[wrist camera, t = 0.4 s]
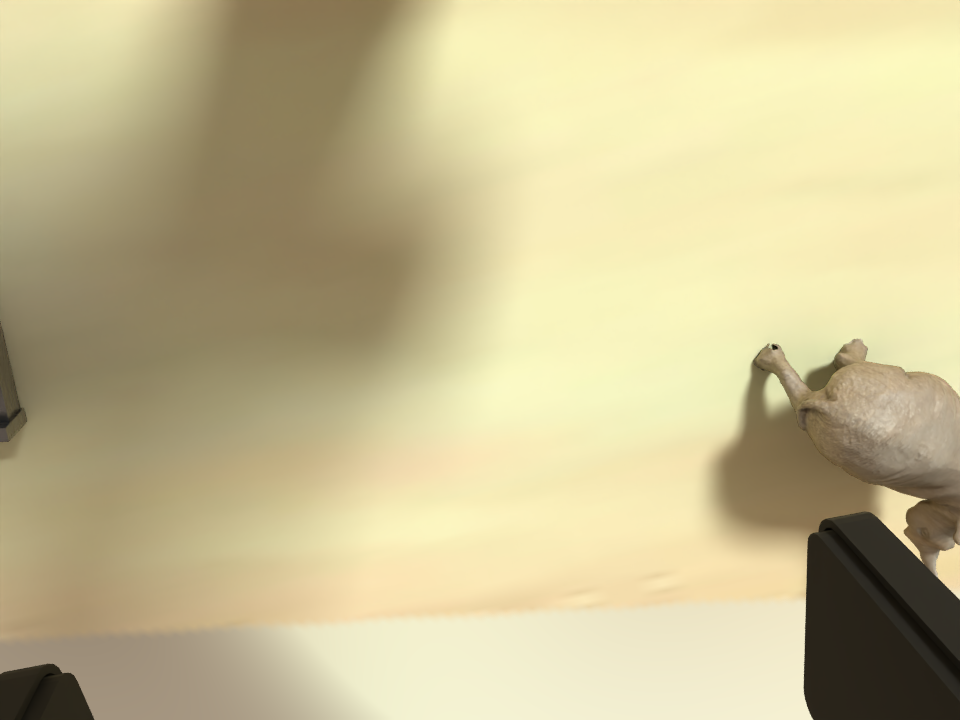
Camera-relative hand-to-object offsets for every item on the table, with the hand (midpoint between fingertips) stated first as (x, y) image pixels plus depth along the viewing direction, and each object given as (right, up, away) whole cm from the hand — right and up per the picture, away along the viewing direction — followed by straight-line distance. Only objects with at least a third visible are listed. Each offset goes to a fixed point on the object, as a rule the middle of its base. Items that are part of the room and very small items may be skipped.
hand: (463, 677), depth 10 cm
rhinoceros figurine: (+24, +1, +41) cm, 48 cm away
